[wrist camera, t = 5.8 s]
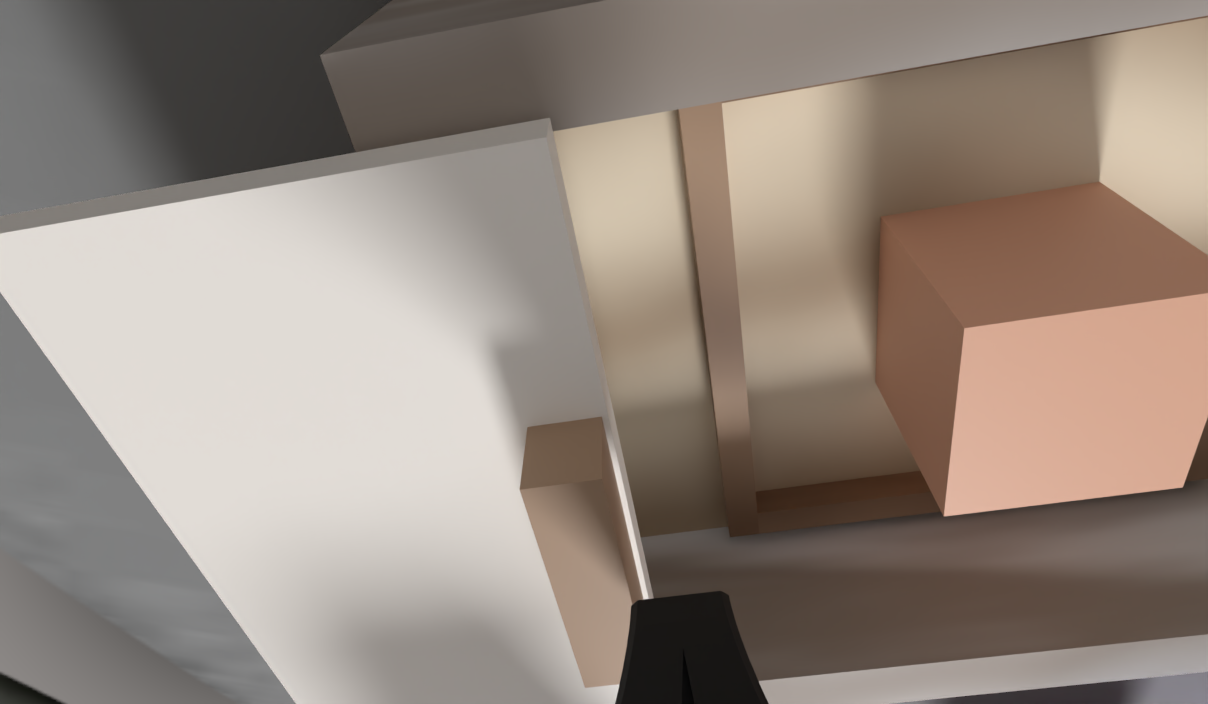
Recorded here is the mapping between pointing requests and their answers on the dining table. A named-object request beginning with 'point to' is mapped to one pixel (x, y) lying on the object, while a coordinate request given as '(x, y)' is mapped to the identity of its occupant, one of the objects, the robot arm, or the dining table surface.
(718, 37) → the beige wooden low frame
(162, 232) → the sliding lid
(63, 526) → the dining table surface
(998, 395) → the terracotta block
